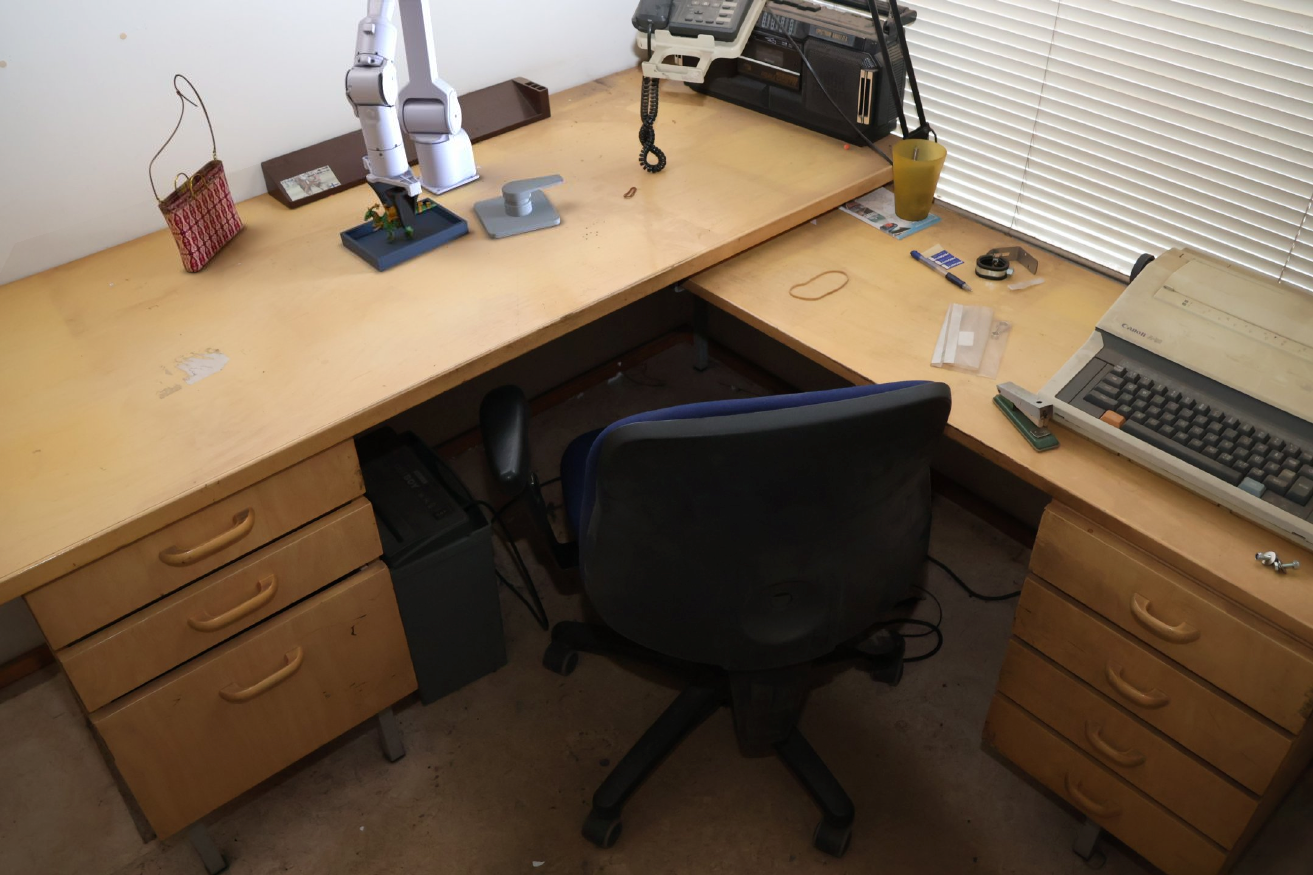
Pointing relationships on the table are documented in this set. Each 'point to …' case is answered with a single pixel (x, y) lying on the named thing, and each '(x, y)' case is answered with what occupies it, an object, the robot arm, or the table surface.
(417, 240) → the tray
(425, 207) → the figurine
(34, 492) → the table surface
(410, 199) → the robot arm
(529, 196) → the shower valve
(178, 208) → the handbag
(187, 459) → the table surface
